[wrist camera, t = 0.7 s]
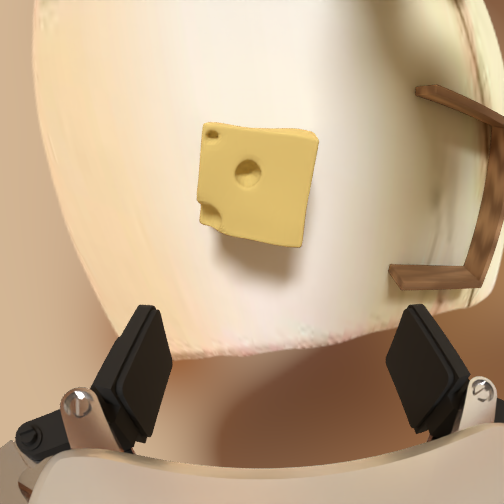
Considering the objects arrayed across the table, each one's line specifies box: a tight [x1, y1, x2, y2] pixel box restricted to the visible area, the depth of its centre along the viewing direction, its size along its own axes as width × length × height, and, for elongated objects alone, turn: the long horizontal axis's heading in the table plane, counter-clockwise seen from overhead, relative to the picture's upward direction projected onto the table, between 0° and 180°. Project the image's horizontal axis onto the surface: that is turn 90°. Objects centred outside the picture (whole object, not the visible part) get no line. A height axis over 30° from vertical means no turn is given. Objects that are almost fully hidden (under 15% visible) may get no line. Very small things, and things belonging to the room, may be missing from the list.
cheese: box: [197, 122, 319, 247], centre depth 27 cm, size 10×11×10 cm
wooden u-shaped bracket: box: [388, 84, 504, 290], centre depth 29 cm, size 26×17×5 cm, turn 178°
